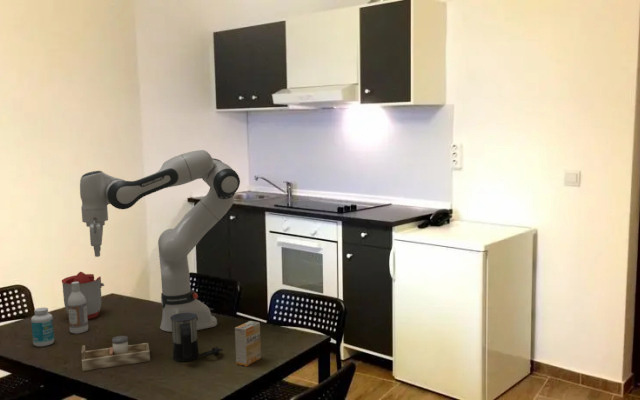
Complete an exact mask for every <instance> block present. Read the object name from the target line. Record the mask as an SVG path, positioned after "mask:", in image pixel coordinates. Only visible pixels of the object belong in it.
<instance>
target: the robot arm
mask: <svg viewBox="0 0 640 400" xmlns="http://www.w3.org/2000/svg"><path fill="white" fill-rule="evenodd" d="M199 179H202V181H203V182H205V183H206V185H208V187H209V189H208V192H207V194H205V195H204V197H202V198H201V199H200V200H199V201H198V202H197V203H196V204H194V206H193V207H191V209H189V210H188V211H187V212H186V214H185V215H184V216H183V217H182V219H181V220H180V221H179V223H177V224H176V226H175V227H174V228H168V229H165V230H163V232H161V234H160V235H159V238H158V241H157V242H158V243H157V244H158V247H157V248H158V255H159V256H158V257H159V265H160V267H159V268H160V276H161V277H160V278H161V279H160V280H161V295H160V303H161V306H162V315H161V322H160V326H159V328H160V330H162V331H165V332H168V333H169V332H171V333H172V323H171V319H170V317H171V316H173V315H175V314H179V313H195V314H196V315H197V317H196V323H197V331H199V330H204V329H208V328H213V327H216V326H217V325H218V319H217V318H216V317H215V316H214V315H212V313H211V310H210V308H209V307H208V306H207V305H206V304H205V303H203V302H202V301H201V300H199V299H198V298H199V295H198V293H197V292H196V291H195V290H192V289H191V279H190V278H191V277H190V267H189V260H188V255H189V254H190V253H191V252H192V251H193V250H194V248H195V247H196V246H197V245H198V244H199V242H200V241H201V240H202V239H203V237H204V236H205V235H206V234H207V233H208V232H210V230H211V229H212V228H213V227H214V226H215V225H216V224H217V223H218V222H219V221H220V220H222V218H223V217H224V216H225V215H226V214H227V213H228V211H229V210H230V209H231V208H232V207H233V204H234V196H235V194H236V192H237V191H238V190H239V188H240V183H241V179H240V176H239V174H238V173H237V172H236V171H235V170H234V169H233V168H232V167H231V166H229V164H227V163H225V162H223V161H221V160H220V159H217V158H213V156H212V155H211V154H210V153H209V152H208V151H206V150H204V149H198V150H193V151H189V152H185V153H184V152H183V153H181V154H178V155H176V156H173V157H171V158H169V159H168V160H166V161H164V162H163V163H162V165H161V167H160V168H159V170H158V171H156V172H154V173H152V174H149V175H147V176H145V177H142V178H139V179H136V180H132V181H131V180H125V179H121V178H118V177H115V176H111V175H109V174H108V173H105V172H103V171H102V170H93V171H90V172H87V173H84V174H82V175H81V177H80V180H79V181H80V182H79V195H80V200H81V209H80V210H81V221H82V222H83V223H85V225H86V227H87V228H89V240H90V242H89V243H90V246H91V247H93V250H94V258H97V257H98V258H99V257H100V256H101V246H102V244H103V243H102V241H103V233H104V226H105V225H106V223H105V222H107V221H108V220H109V212H108V205H111V206H112V207H114V208H115V209H117V210H127V209H130V208H132V207H133V206H134V205H135V204H137V202H138V201H140V200H141V199H142V198H144V197H146V196H149V195H151V194H153V193H156V192H158V191H161V190H163V189H167V188H172V187H178V186H182V185H185V184H188V183H191V182H194V181H196V180H199Z"/></svg>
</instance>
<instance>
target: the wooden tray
mask: <svg viewBox="0 0 640 400" xmlns="http://www.w3.org/2000/svg"><path fill="white" fill-rule="evenodd" d="M86 349H87V348H86V345H81V353H80V354H81V368H82V372H84V371H91V370H99V369H104V368H111V367H119V366H125V365H133V364H138V363H147V362H151V355H150V347H149V342H143V343H135V344H128V353H127V354H120V355H113V356H110V347H106V348H98V349H93V350H92V349H91V350H86Z"/></svg>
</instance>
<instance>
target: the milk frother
mask: <svg viewBox="0 0 640 400" xmlns="http://www.w3.org/2000/svg"><path fill="white" fill-rule="evenodd" d="M196 317H197V315H196V314H195V313H179V314H175V315H173V316H171V317H170V319H171V323H172V332H171V336H172V339H171V340H172V349H173V350H172V359H173V360H174V361H176V362H189V361H190V362H191V361H192V360H195V359H198V358H200V357H202V356H206V355H208V356H209V355H211V354H213V355H214V356H215V355H218V354H219V353H220V352H222V351H223V348H219V347H217V346H215V347H212V349H211V350H207V351H205V352H202V353H200V352H199V342H198V330H197V323H196Z"/></svg>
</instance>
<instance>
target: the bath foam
mask: <svg viewBox="0 0 640 400" xmlns="http://www.w3.org/2000/svg"><path fill="white" fill-rule="evenodd" d="M71 286H72V293H71V294H70V296H69V298H68V314H67V316H68V324H69V325H68V326H69V332H70V334H83V333H85V332H87V331H88V330H89V319H88V318H87V305H86V299H85V297H84V295H83V294H82V293H81V292H80V286H79V282H72V283H71Z"/></svg>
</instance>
